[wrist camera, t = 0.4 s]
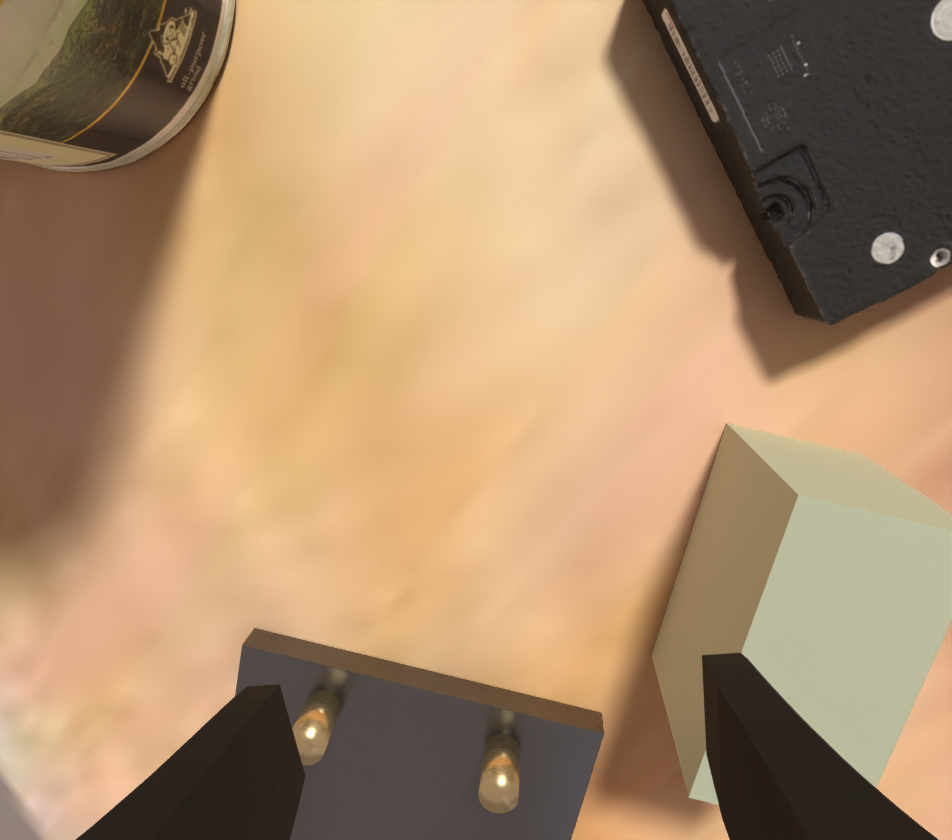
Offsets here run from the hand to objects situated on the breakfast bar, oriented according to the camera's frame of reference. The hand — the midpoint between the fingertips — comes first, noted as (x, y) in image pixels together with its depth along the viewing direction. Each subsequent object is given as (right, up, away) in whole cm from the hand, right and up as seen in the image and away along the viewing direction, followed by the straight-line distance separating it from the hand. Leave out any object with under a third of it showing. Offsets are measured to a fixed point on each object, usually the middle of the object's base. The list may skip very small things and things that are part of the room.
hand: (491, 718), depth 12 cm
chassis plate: (-3, -10, +13) cm, 17 cm away
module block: (+8, +1, +10) cm, 13 cm away
